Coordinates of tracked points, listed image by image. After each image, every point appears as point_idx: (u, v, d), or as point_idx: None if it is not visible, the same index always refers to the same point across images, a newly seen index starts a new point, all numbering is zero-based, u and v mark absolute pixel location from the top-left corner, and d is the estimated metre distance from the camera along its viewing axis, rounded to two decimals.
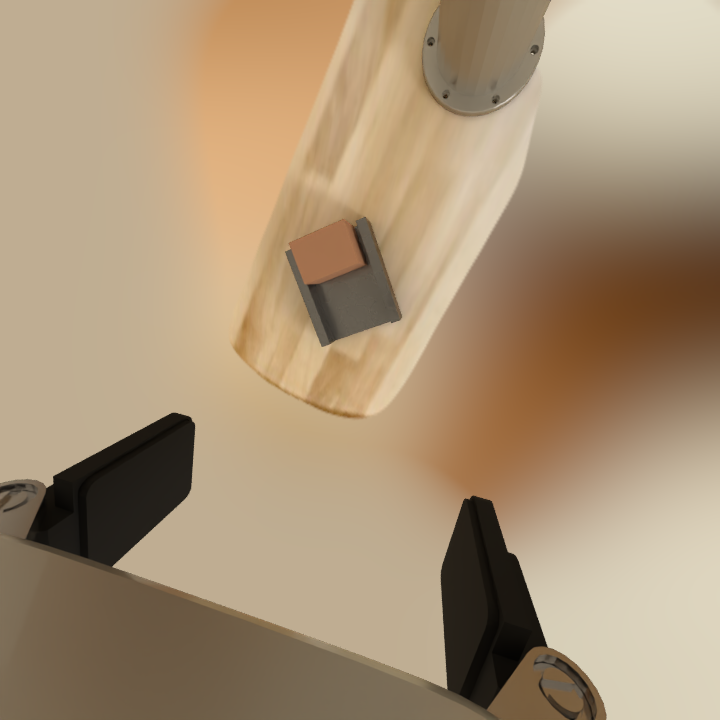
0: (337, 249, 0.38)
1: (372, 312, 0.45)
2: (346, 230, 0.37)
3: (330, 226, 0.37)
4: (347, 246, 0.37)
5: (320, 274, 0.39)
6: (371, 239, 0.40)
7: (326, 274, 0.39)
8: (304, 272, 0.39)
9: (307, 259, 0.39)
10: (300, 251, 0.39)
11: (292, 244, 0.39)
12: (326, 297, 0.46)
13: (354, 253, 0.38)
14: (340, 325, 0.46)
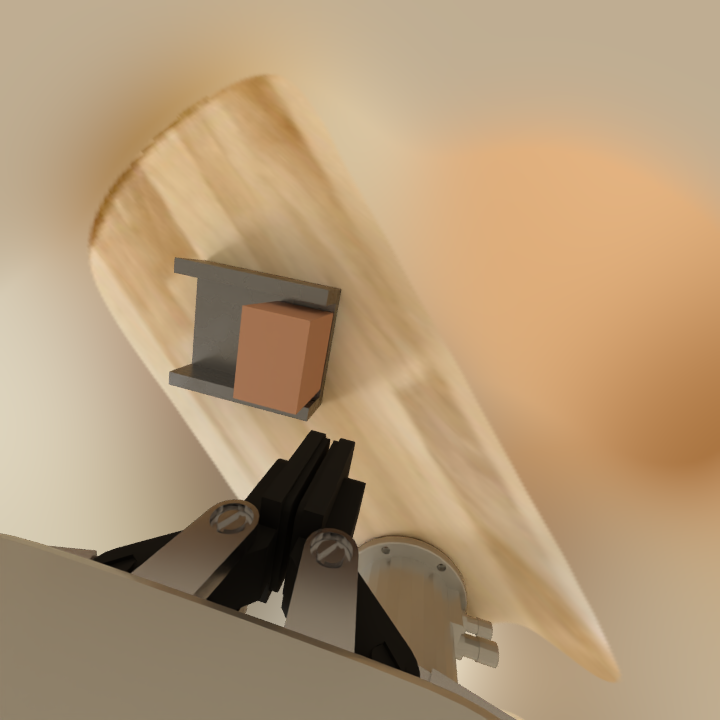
0: (263, 381, 0.24)
1: (212, 345, 0.31)
2: (280, 408, 0.24)
3: (296, 392, 0.24)
4: (260, 397, 0.24)
5: (243, 337, 0.24)
6: (277, 411, 0.28)
7: (239, 346, 0.24)
8: (258, 316, 0.23)
9: (273, 333, 0.23)
10: (288, 330, 0.23)
11: (305, 325, 0.23)
12: (258, 297, 0.29)
13: (247, 400, 0.25)
14: (214, 292, 0.30)
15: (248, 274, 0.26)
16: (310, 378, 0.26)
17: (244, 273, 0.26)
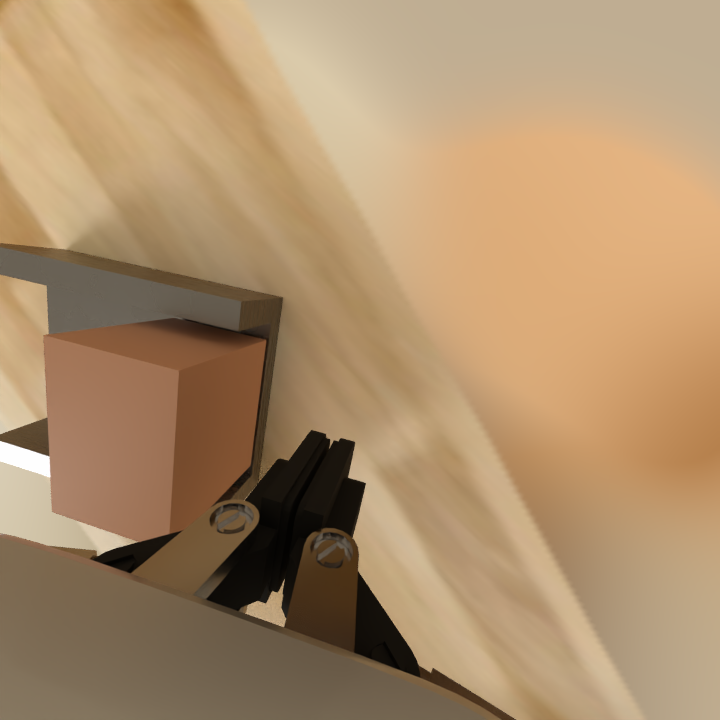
0: (101, 486, 0.12)
1: None
2: (138, 538, 0.12)
3: (166, 511, 0.12)
4: (99, 514, 0.12)
5: (55, 399, 0.11)
6: None
7: (50, 416, 0.12)
8: (77, 358, 0.11)
9: (109, 394, 0.11)
10: (137, 389, 0.11)
11: (169, 379, 0.10)
12: (143, 311, 0.17)
13: (77, 517, 0.13)
14: (74, 303, 0.18)
15: (96, 271, 0.14)
16: (209, 468, 0.14)
17: (89, 269, 0.14)
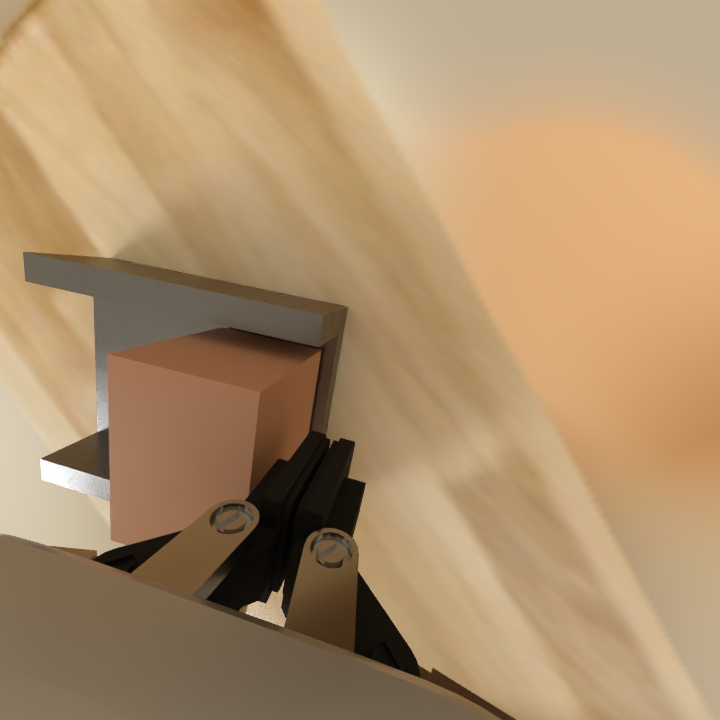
0: (167, 513, 0.11)
1: None
2: None
3: None
4: None
5: (118, 423, 0.11)
6: None
7: (112, 440, 0.11)
8: (144, 379, 0.10)
9: (178, 417, 0.10)
10: (212, 412, 0.10)
11: (248, 401, 0.10)
12: (198, 323, 0.16)
13: None
14: (123, 314, 0.17)
15: (162, 283, 0.13)
16: None
17: (154, 281, 0.13)
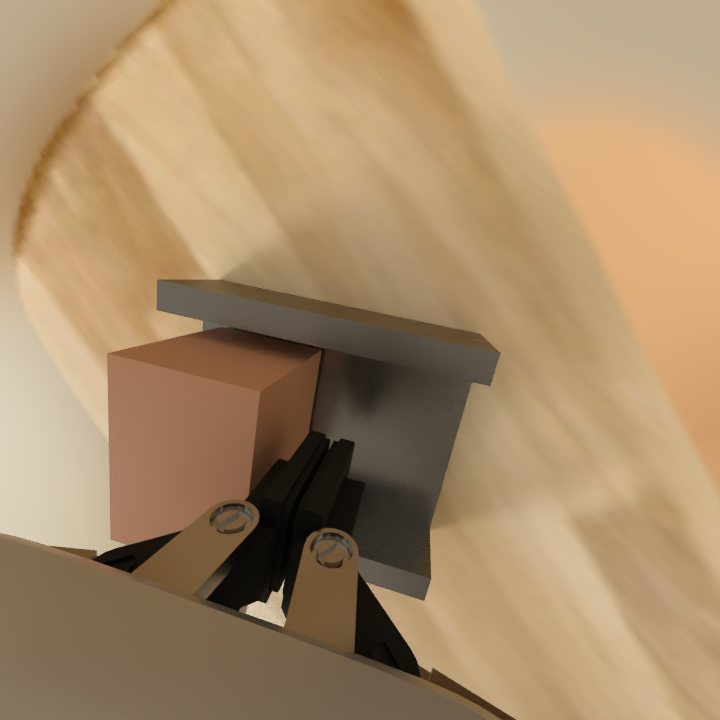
0: (167, 513, 0.11)
1: None
2: None
3: None
4: None
5: (118, 422, 0.11)
6: (363, 578, 0.14)
7: (112, 440, 0.11)
8: (144, 378, 0.10)
9: (179, 417, 0.10)
10: (212, 411, 0.10)
11: (249, 401, 0.10)
12: None
13: None
14: None
15: (314, 316, 0.12)
16: None
17: (306, 313, 0.12)
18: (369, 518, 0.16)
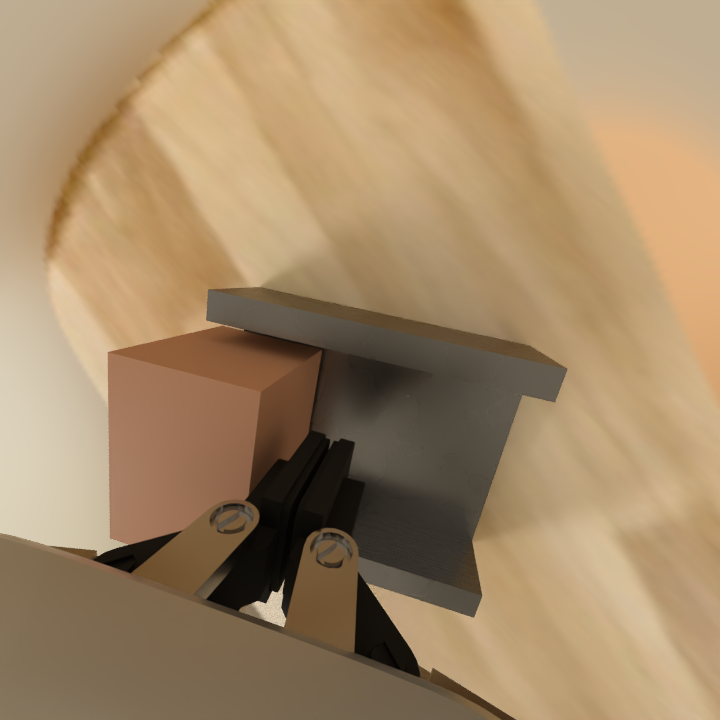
0: (166, 512, 0.11)
1: None
2: None
3: None
4: None
5: (118, 421, 0.11)
6: (411, 594, 0.14)
7: (112, 439, 0.11)
8: (145, 377, 0.10)
9: (179, 416, 0.10)
10: (212, 411, 0.10)
11: (249, 400, 0.10)
12: (363, 360, 0.15)
13: None
14: None
15: (373, 328, 0.12)
16: None
17: (363, 326, 0.12)
18: (411, 531, 0.16)
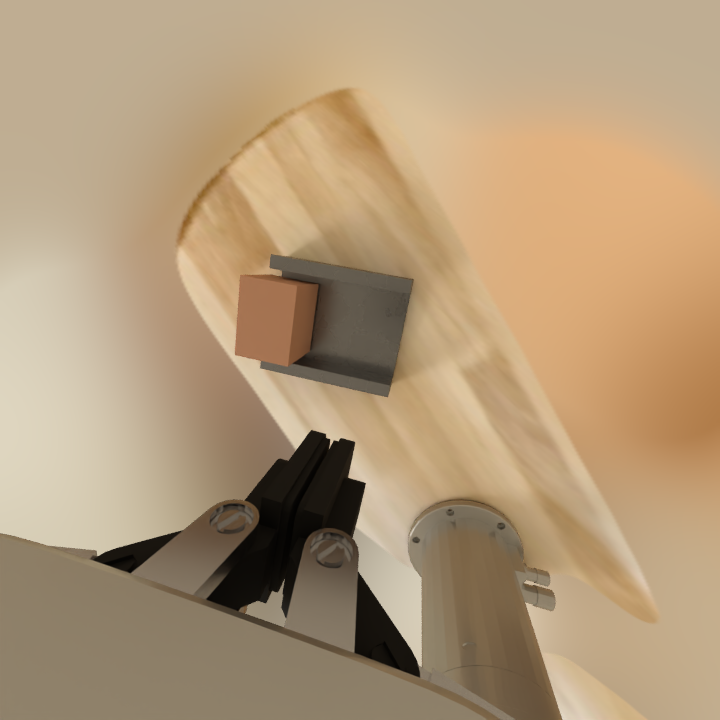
0: (259, 339, 0.29)
1: None
2: (274, 362, 0.29)
3: (287, 347, 0.29)
4: (257, 353, 0.29)
5: (242, 302, 0.28)
6: (360, 389, 0.32)
7: (239, 310, 0.28)
8: (254, 284, 0.28)
9: (266, 298, 0.28)
10: (279, 295, 0.28)
11: (293, 289, 0.27)
12: (338, 288, 0.33)
13: (246, 356, 0.29)
14: None
15: (338, 268, 0.29)
16: (299, 338, 0.30)
17: (335, 267, 0.29)
18: (363, 371, 0.34)
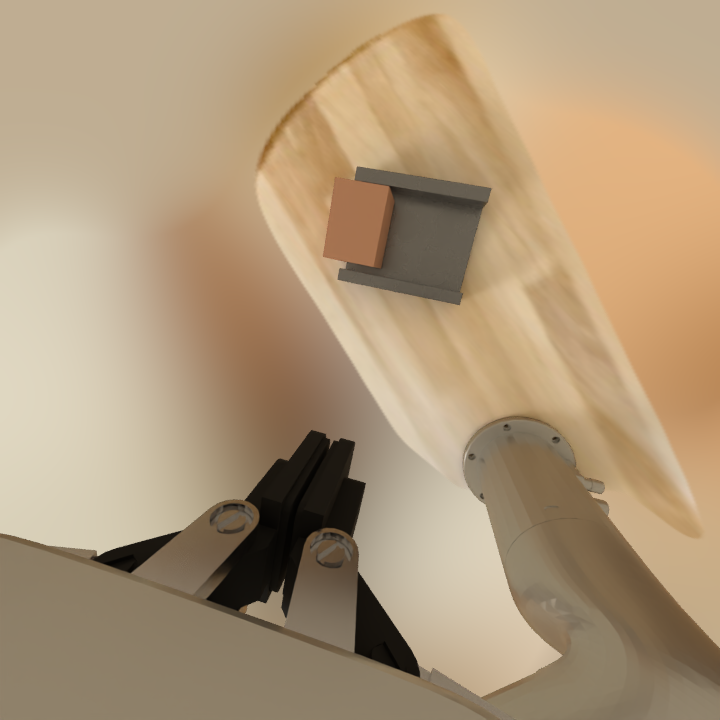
0: (348, 240, 0.31)
1: None
2: (360, 262, 0.31)
3: (375, 247, 0.31)
4: (345, 254, 0.32)
5: (334, 204, 0.31)
6: (433, 298, 0.34)
7: (331, 212, 0.31)
8: (347, 185, 0.30)
9: (358, 199, 0.30)
10: (371, 195, 0.30)
11: (385, 190, 0.30)
12: (412, 206, 0.35)
13: (334, 257, 0.32)
14: None
15: (421, 178, 0.32)
16: (380, 245, 0.33)
17: (418, 177, 0.32)
18: (432, 286, 0.36)
